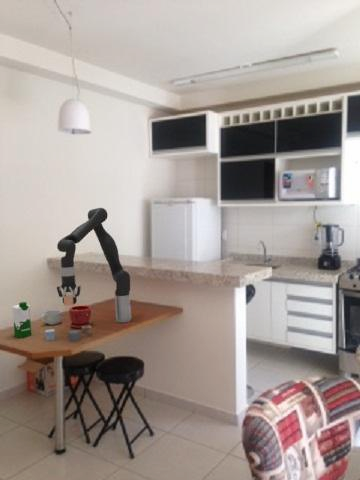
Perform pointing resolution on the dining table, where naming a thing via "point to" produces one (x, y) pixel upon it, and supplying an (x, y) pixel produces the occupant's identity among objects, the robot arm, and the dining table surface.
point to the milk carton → (22, 320)
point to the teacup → (52, 316)
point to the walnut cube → (86, 331)
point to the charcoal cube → (74, 336)
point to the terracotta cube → (68, 300)
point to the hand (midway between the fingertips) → (69, 303)
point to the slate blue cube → (50, 334)
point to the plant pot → (80, 316)
